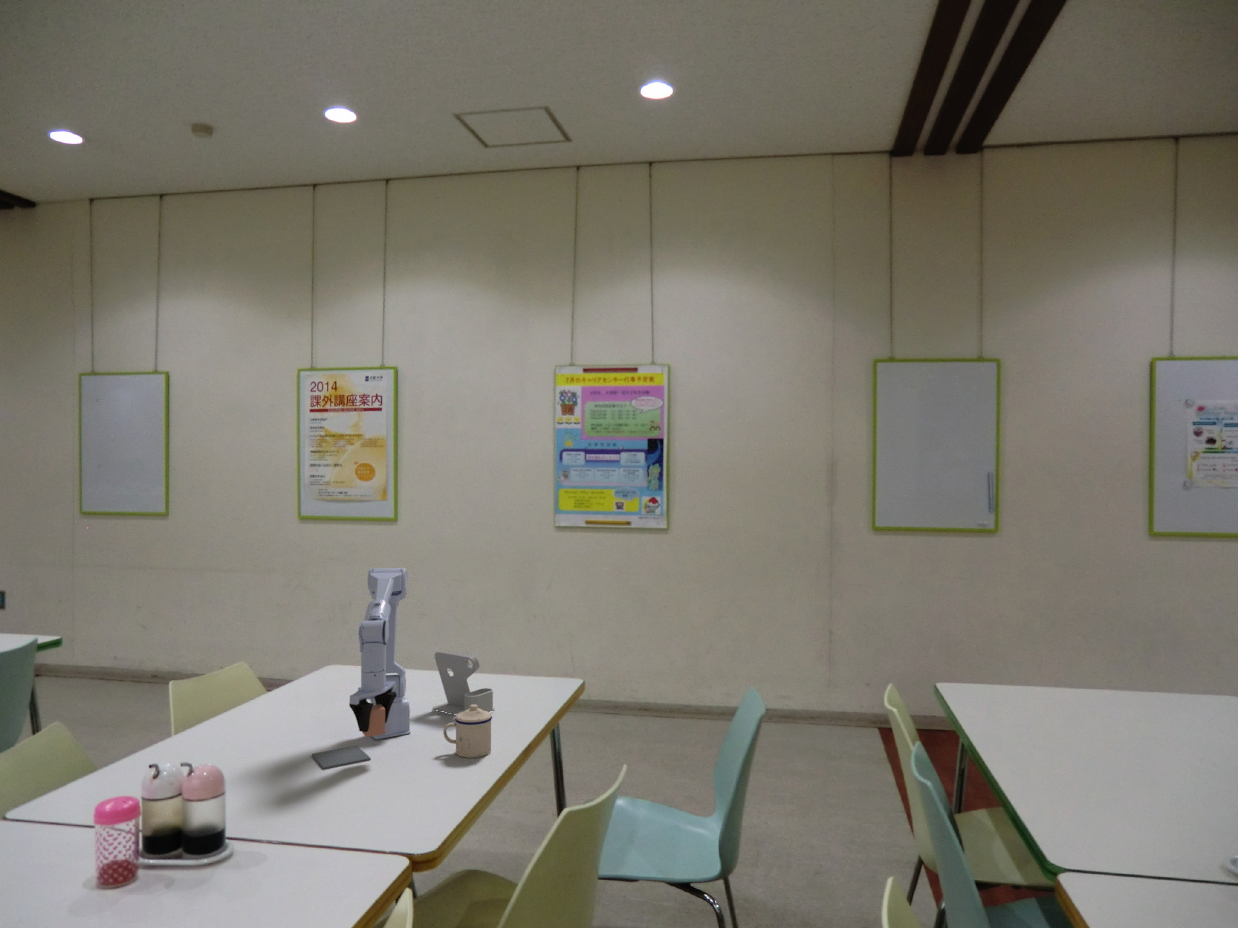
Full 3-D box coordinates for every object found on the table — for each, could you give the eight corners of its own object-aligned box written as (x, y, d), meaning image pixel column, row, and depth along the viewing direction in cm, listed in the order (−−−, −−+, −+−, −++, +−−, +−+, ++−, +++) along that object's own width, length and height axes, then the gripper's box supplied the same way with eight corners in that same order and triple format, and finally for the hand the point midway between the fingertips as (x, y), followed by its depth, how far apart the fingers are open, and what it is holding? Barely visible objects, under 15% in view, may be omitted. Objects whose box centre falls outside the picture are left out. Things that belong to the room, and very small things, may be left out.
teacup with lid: (493, 745, 199) (494, 699, 200) (489, 758, 190) (490, 710, 190) (446, 746, 199) (446, 700, 199) (440, 759, 190) (440, 710, 190)
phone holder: (497, 711, 230) (497, 649, 230) (472, 719, 221) (472, 656, 222) (455, 702, 239) (455, 643, 240) (430, 710, 231) (430, 648, 231)
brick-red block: (380, 728, 191) (380, 704, 191) (385, 733, 187) (385, 708, 187) (361, 731, 189) (361, 706, 189) (365, 736, 185) (365, 711, 185)
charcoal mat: (357, 747, 198) (357, 745, 198) (370, 759, 189) (370, 757, 189) (311, 755, 192) (311, 753, 192) (323, 769, 183) (323, 767, 183)
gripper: (379, 662, 197) (379, 716, 196) (339, 675, 183) (338, 733, 183) (402, 664, 194) (402, 719, 194) (363, 678, 181) (363, 737, 180)
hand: (373, 726), depth 188 cm, fingers closed on brick-red block, 6 cm apart
